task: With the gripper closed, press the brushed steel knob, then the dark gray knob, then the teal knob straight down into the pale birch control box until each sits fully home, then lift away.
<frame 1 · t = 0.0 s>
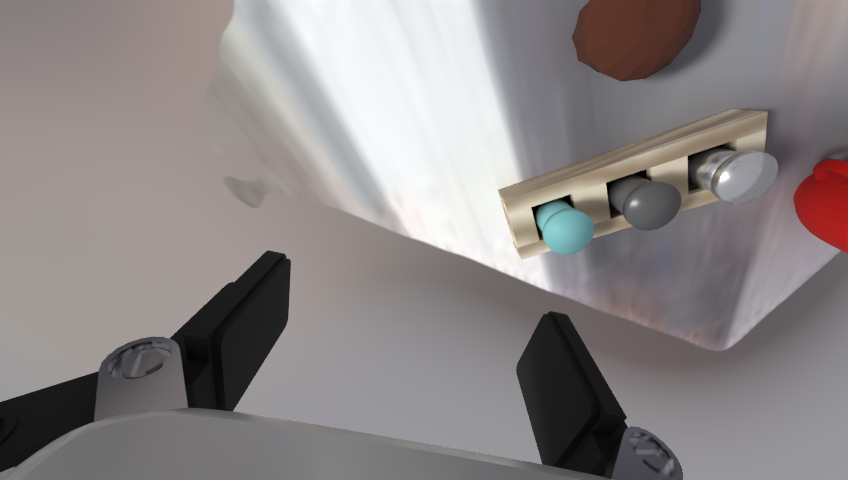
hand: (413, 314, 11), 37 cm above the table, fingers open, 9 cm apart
control box: (611, 184, 46), on the table
dark gray knob: (639, 199, 40), point 7 cm above the table, slide at 3.0 cm
muffin: (608, 29, 38), on the table
ceramic cup: (809, 182, 46), on the table
teal knob: (560, 224, 42), point 7 cm above the table, slide at 3.0 cm
steel knob: (725, 172, 38), point 7 cm above the table, slide at 3.0 cm
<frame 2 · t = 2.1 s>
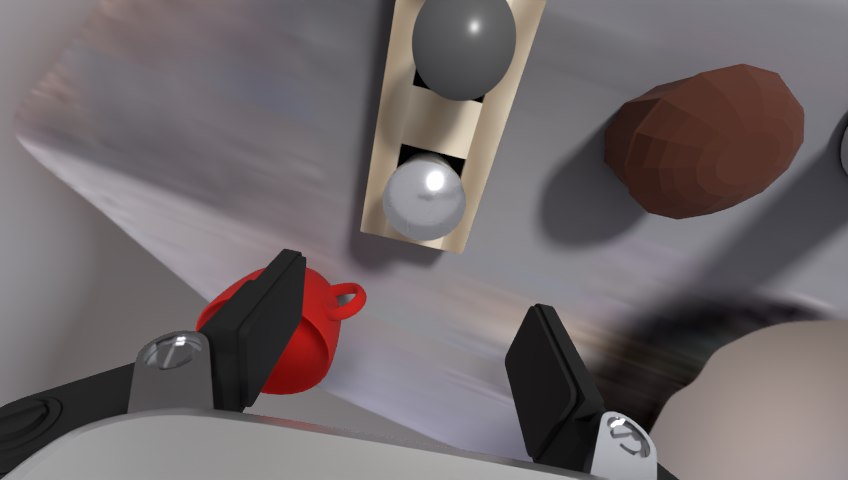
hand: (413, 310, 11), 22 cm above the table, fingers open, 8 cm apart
control box: (454, 58, 27), on the table
dark gray knob: (459, 50, 21), point 7 cm above the table, slide at 3.0 cm
muffin: (650, 137, 29), on the table
ceramic cup: (317, 282, 38), on the table
steel knob: (425, 190, 25), point 7 cm above the table, slide at 3.0 cm
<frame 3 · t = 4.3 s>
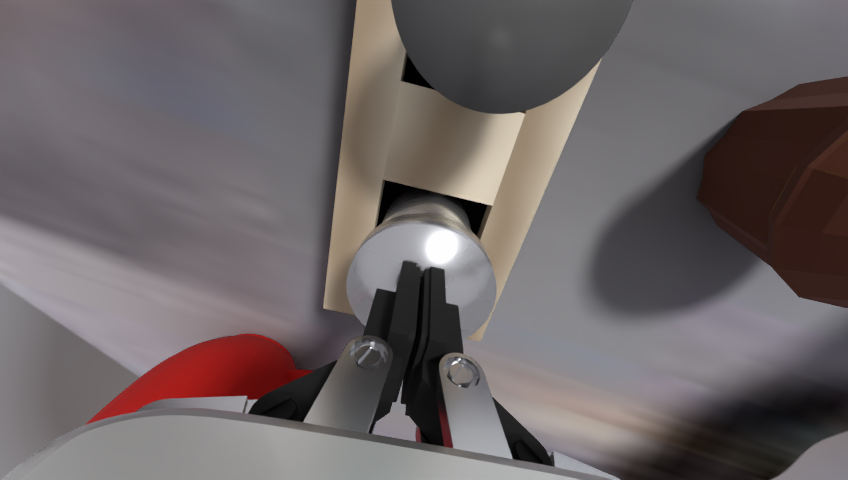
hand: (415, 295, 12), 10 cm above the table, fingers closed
control box: (471, 38, 17), on the table
dark gray knob: (492, 9, 10), point 7 cm above the table, slide at 3.0 cm
muffin: (774, 163, 19), on the table
ceramic cup: (277, 353, 28), on the table
steel knob: (424, 255, 15), point 7 cm above the table, slide at 2.5 cm, touching gripper
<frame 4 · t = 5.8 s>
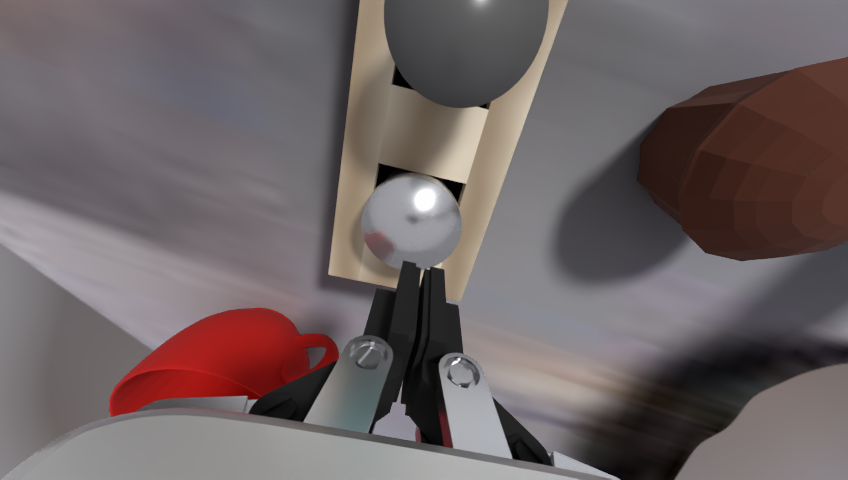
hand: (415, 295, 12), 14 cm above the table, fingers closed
control box: (448, 50, 20), on the table
dark gray knob: (458, 32, 14), point 7 cm above the table, slide at 3.0 cm
muffin: (696, 150, 23), on the table
ceramic cup: (283, 325, 31), on the table
steel knob: (413, 209, 21), point 4 cm above the table, slide at -0.1 cm
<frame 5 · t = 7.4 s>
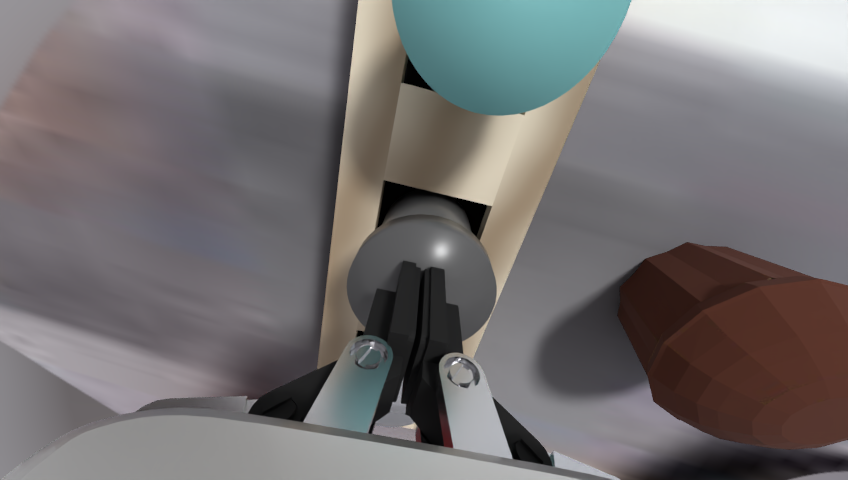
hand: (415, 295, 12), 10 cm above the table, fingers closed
control box: (428, 209, 21), on the table
dark gray knob: (424, 257, 15), point 7 cm above the table, slide at 2.6 cm, touching gripper
muffin: (677, 292, 24), on the table
teal knob: (492, 12, 10), point 7 cm above the table, slide at 3.0 cm
steel knob: (393, 357, 22), point 4 cm above the table, slide at -0.1 cm
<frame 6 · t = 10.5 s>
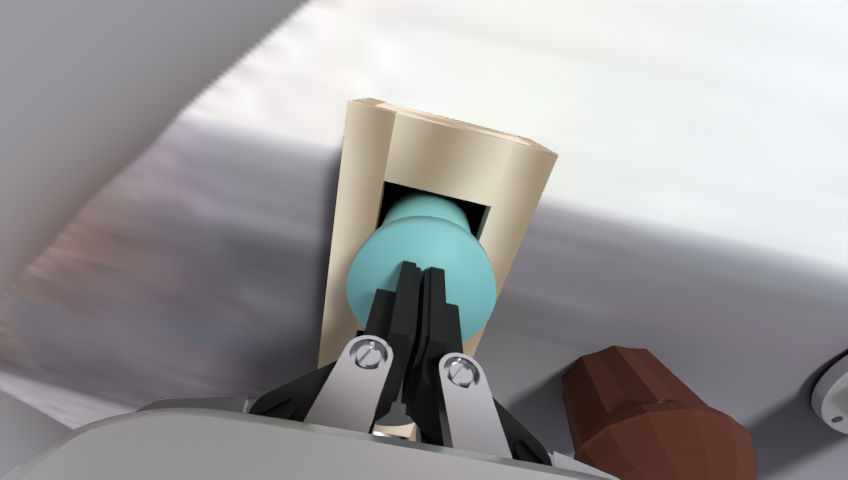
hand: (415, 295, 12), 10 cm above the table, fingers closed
control box: (399, 319, 26), on the table
dark gray knob: (393, 357, 22), point 4 cm above the table, slide at -0.1 cm
muffin: (611, 379, 28), on the table
teal knob: (423, 258, 15), point 7 cm above the table, slide at 2.7 cm, touching gripper
steel knob: (371, 439, 26), point 4 cm above the table, slide at -0.1 cm
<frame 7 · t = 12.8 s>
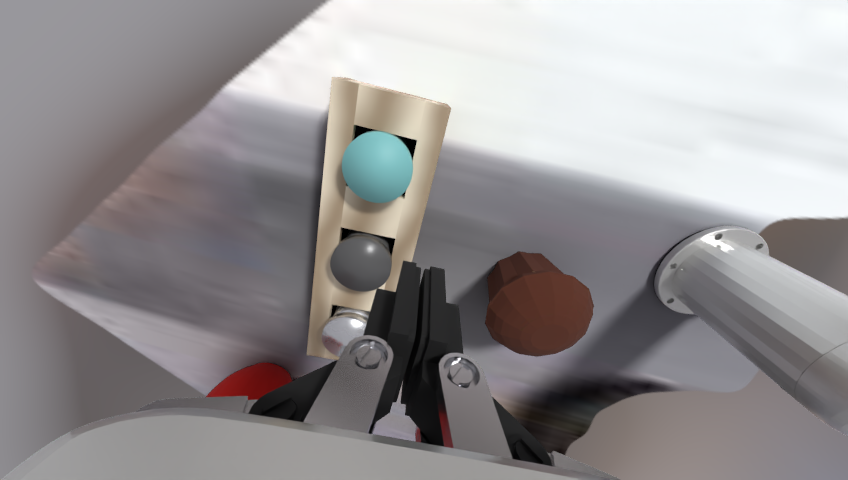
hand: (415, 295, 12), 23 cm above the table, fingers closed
control box: (371, 235, 37), on the table
dark gray knob: (365, 251, 33), point 4 cm above the table, slide at -0.1 cm
muffin: (521, 279, 40), on the table
ceramic cup: (280, 372, 48), on the table
teal knob: (381, 161, 29), point 4 cm above the table, slide at -0.1 cm
steel knob: (353, 321, 38), point 4 cm above the table, slide at -0.1 cm
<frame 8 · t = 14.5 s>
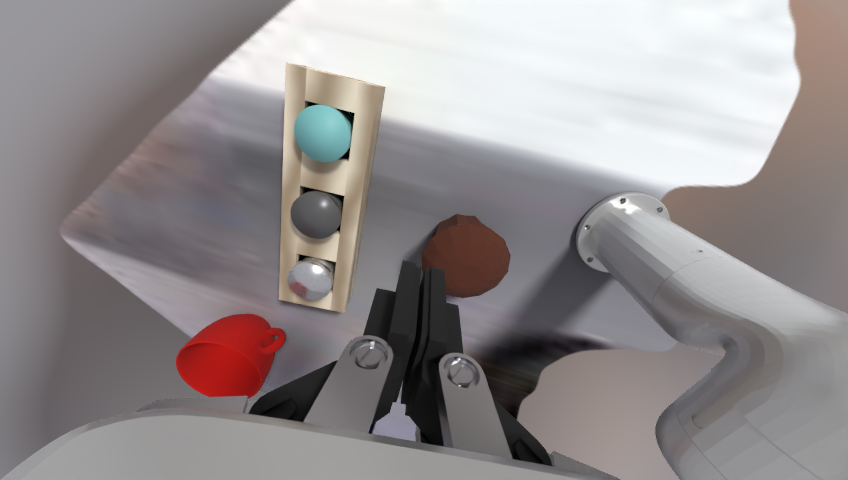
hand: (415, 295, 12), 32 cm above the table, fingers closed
control box: (332, 198, 45), on the table
dark gray knob: (322, 208, 41), point 4 cm above the table, slide at -0.1 cm
muffin: (461, 240, 47), on the table
ceramic cup: (262, 323, 56), on the table
teal knob: (330, 131, 37), point 4 cm above the table, slide at -0.1 cm
steel knob: (317, 270, 45), point 4 cm above the table, slide at -0.1 cm
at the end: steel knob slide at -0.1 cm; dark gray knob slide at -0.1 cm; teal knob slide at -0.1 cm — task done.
